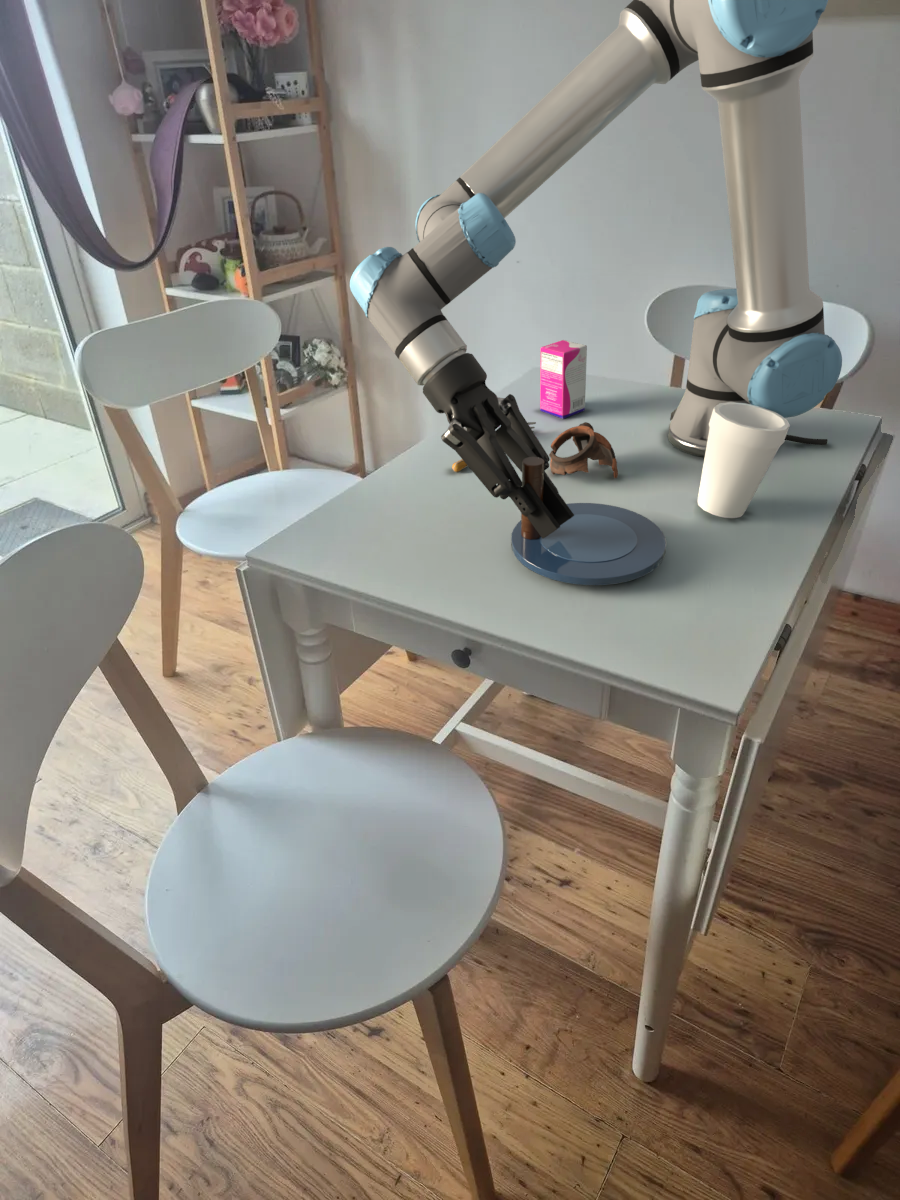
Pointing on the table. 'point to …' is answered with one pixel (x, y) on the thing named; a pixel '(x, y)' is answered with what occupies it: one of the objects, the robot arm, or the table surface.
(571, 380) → the supplement box
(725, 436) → the foam cup
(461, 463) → the fork
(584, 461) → the broken brown clay pot
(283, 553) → the table surface
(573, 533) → the blue disc with rod
